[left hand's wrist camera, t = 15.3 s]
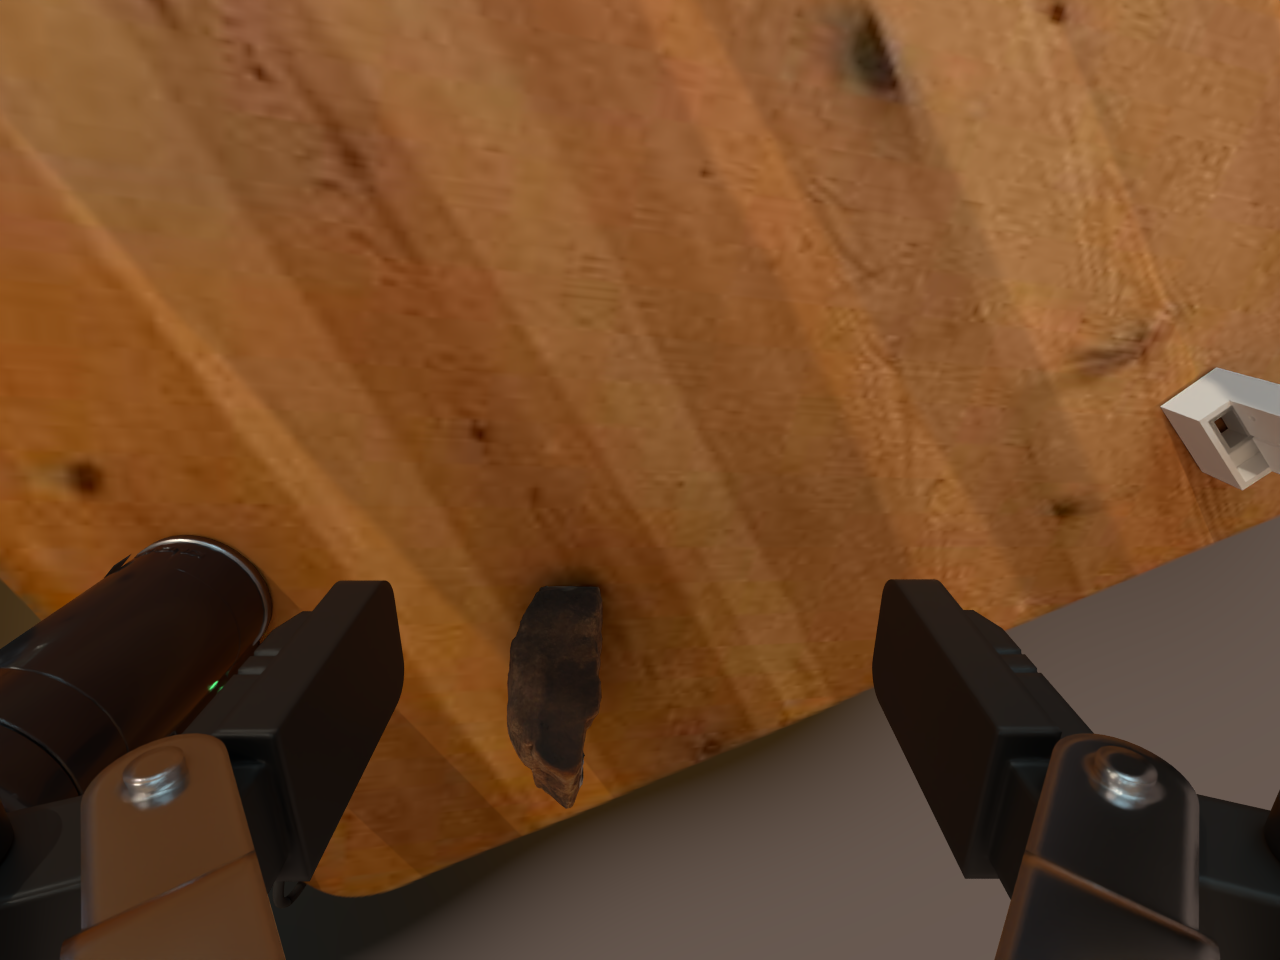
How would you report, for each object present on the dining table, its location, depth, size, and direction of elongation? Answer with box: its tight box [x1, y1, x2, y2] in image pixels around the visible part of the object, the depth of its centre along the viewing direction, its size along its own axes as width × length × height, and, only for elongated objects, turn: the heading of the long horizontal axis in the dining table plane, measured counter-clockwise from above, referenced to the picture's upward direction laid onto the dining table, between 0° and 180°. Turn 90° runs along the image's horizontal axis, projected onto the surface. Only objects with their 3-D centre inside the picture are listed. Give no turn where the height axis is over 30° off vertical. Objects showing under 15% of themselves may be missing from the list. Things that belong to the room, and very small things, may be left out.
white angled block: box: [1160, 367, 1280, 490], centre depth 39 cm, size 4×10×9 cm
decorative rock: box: [507, 586, 602, 809], centre depth 44 cm, size 12×6×11 cm, turn 170°
